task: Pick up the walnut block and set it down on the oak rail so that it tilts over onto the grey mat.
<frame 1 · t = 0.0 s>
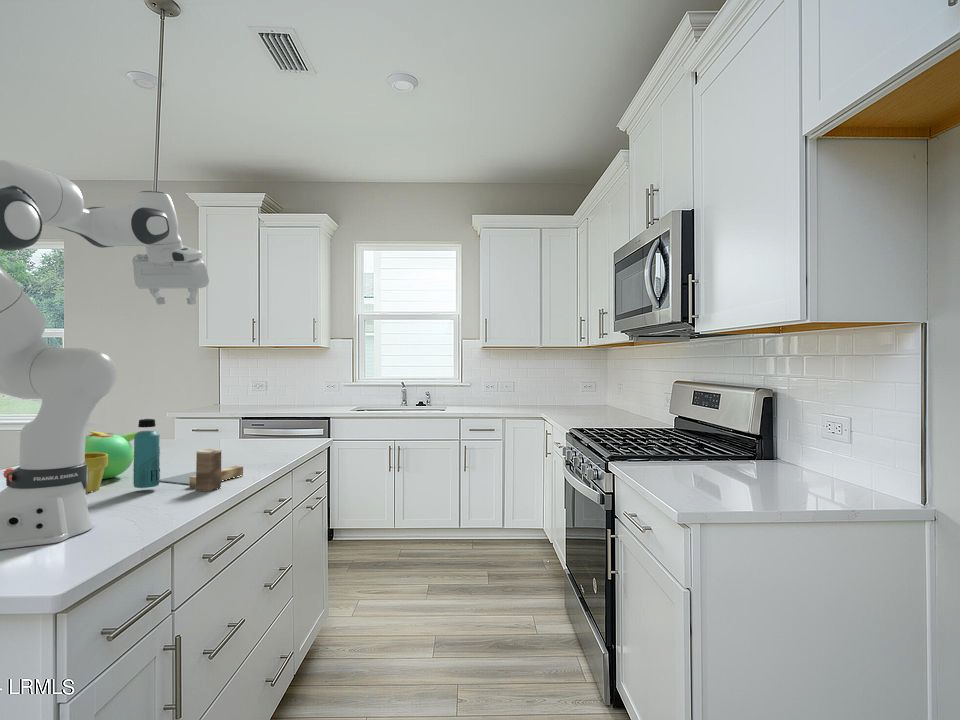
hand: (176, 304, 157), 52 cm above the countertop, tool tilted 20°, fingers open, 8 cm apart
walnut block: (208, 489, 161), on the countertop
grey mat: (194, 478, 174), on the countertop
oak rail: (217, 481, 171), on the countertop
green rounded body: (102, 479, 173), on the countertop
plant pot: (85, 491, 156), on the countertop
beverage bottle: (146, 491, 157), on the countertop
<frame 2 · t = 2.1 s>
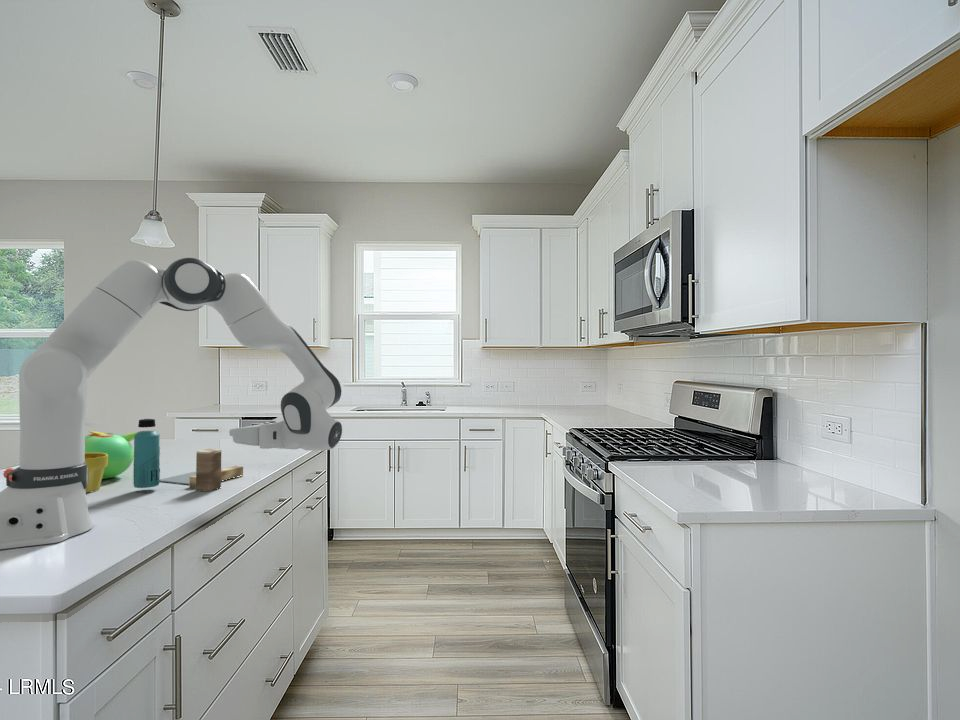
hand: (243, 430, 157), 17 cm above the countertop, tool horizontal, fingers open, 8 cm apart
nothing on the countertop moved.
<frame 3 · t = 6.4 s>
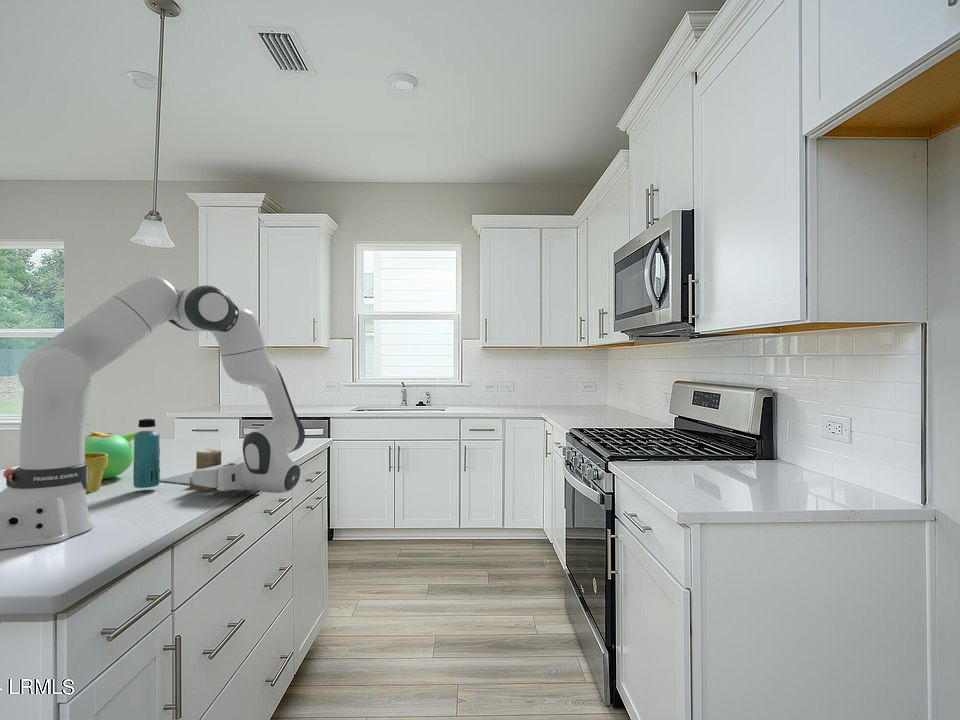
hand: (206, 469, 161), 6 cm above the countertop, tool horizontal, fingers closed on walnut block, 4 cm apart
walnut block: (208, 489, 161), on the countertop, touching gripper
everything else where it was.
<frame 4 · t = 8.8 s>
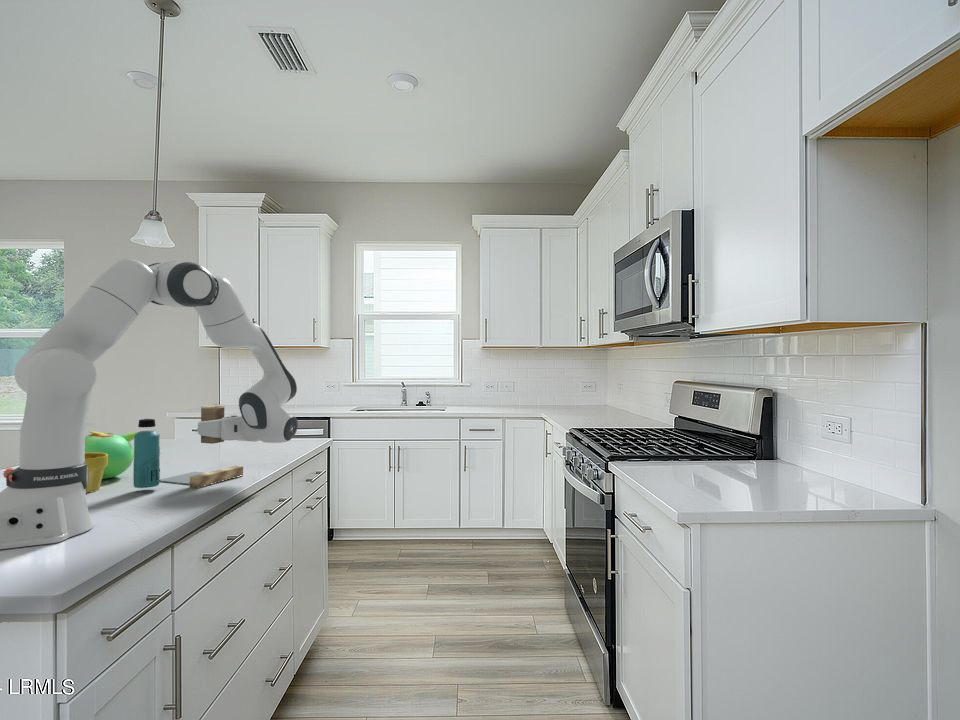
hand: (210, 423, 172), 17 cm above the countertop, tool horizontal, fingers closed on walnut block, 4 cm apart
walnut block: (212, 442, 171), point 12 cm above the countertop, touching gripper
everything else where it was.
when the fingers open (9 cm above the countertop, at t = 11.0 s): walnut block drops 1 cm and tips over, resting on grey mat.
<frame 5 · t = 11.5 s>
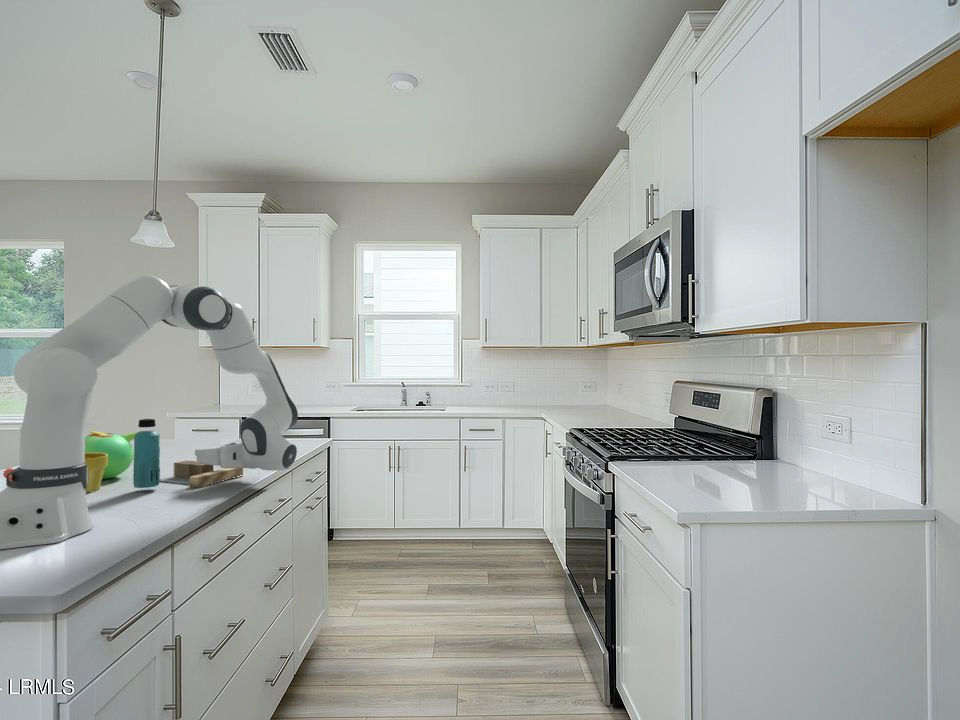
hand: (209, 449, 172), 9 cm above the countertop, tool horizontal, fingers open, 8 cm apart
walnut block: (207, 471, 172), point 3 cm above the countertop, tilted 90°, touching grey mat
everything else where it was.
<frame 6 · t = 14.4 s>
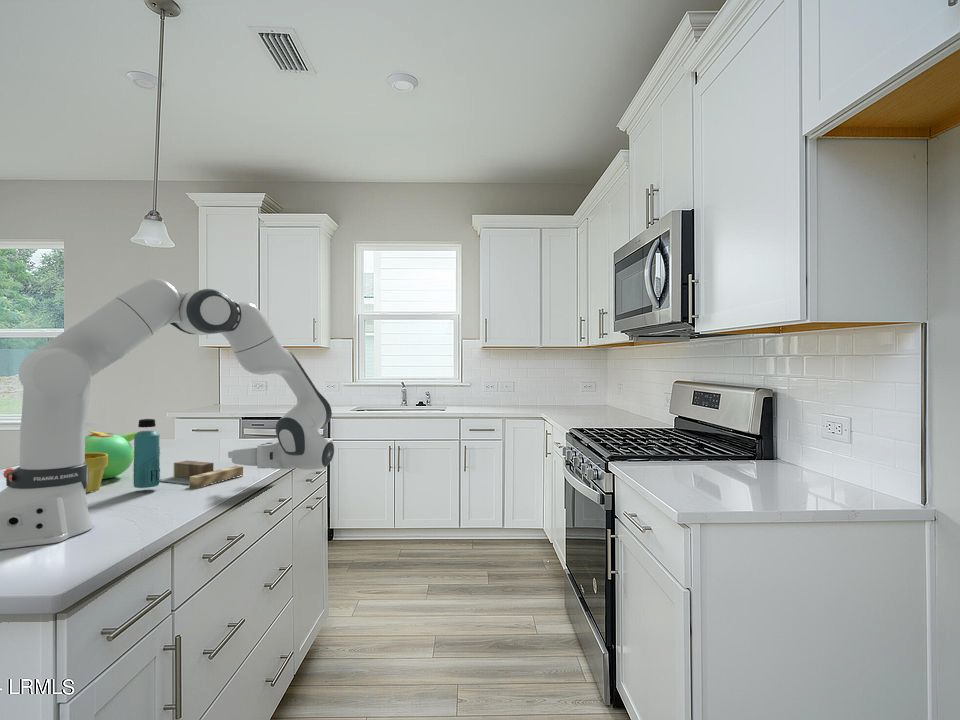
hand: (241, 452, 167), 9 cm above the countertop, tool horizontal, fingers open, 8 cm apart
nothing on the countertop moved.
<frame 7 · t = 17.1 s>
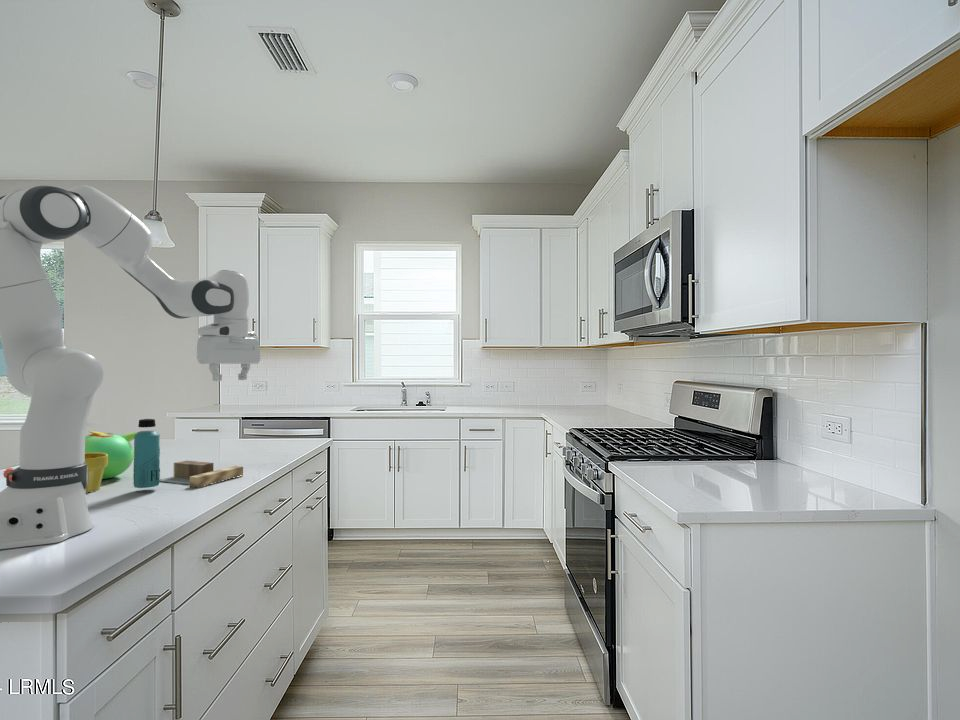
hand: (230, 380, 156), 31 cm above the countertop, tool pointing down, fingers open, 8 cm apart
nothing on the countertop moved.
at the end: walnut block tilted 90°; walnut block 5.1 cm from the grey mat (horizontally); the gripper is holding nothing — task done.
